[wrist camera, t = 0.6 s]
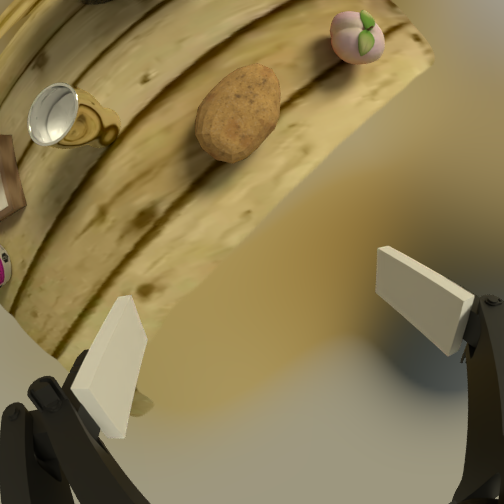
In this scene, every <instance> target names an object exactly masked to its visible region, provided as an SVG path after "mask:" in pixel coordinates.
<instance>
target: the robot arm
mask: <svg viewBox="0 0 504 504" xmlns="http://www.w3.org/2000/svg"><path fill="white" fill-rule="evenodd" d="M79 1H80V2H82V3H85V4H100V3H105V2H108V1H111V0H79ZM376 293H377V294H378V295H379V296H381V297H382V298H383V299H384V300H385V301H386V302H387V303H389V304H390V305H391V306H392V307H393V308H394V309H396V310H397V311H398V312H399V313H400V314H401V315H403V316H404V317H405V318H406V319H407V320H408V321H409V322H411V323H412V324H413V325H414V326H415V327H416V328H417V329H418V330H419V331H421V332H422V333H423V334H424V335H425V336H426V337H427V338H428V339H430V340H431V341H432V342H433V343H434V344H435V345H436V346H437V347H438V348H439V349H441V351H442V352H444V353H445V354H446V355H447V356H450V355H451V354H453V353H455V352H457V351H458V350H459V348H460V346H461V343H462V339H464V340H465V341H466V342H467V345H466V347H465V350H464V353H463V355H462V358H461V363H463V360H464V358H466V364H467V378H468V430H467V445H466V455H465V464H464V471H463V476H462V480H461V482H460V484H459V486H458V488H457V490H456V492H455V494H454V496H453V499H452V502H450V503H449V504H504V301H502V299H500V298H499V297H497V296H494V295H483V296H482V297H481V298H480V297H478V296H477V295H475V294H474V293H472V292H470V291H469V290H467V289H465V288H464V287H461V285H459V284H457V283H455V282H454V281H452V280H450V279H449V278H446V277H443V276H441V275H440V274H438V273H436V272H435V271H433V270H431V269H430V268H428V267H426V266H424V265H422V264H421V263H419V262H417V261H415V260H414V259H412V258H410V257H408V256H406V255H405V254H403V253H401V252H399V251H397V250H395V249H393V248H392V247H390V246H385V247H380V248H377V275H376ZM147 340H148V339H147V336H146V334H145V331H144V329H143V326H142V323H141V321H140V318H139V315H138V312H137V310H136V307H135V304H134V301H133V298H132V295H127V296H121V297H118V298H117V300H116V301H115V303H114V305H113V307H112V308H111V310H110V312H109V314H108V315H107V317H106V319H105V321H104V323H103V325H102V326H101V328H100V330H99V332H98V334H97V336H96V338H95V339H94V341H93V343H92V345H91V347H90V349H88V350H84V351H83V352H82V353H81V354H80V355H79V356H78V357H77V359H76V361H75V363H74V364H73V367H72V368H71V370H70V373H69V374H68V376H67V378H66V380H65V382H64V384H63V386H62V388H61V387H60V386H59V384H58V383H57V381H56V380H55V378H54V377H51V376H44V377H41V378H39V379H37V380H36V381H34V382H33V383H32V384H31V385H30V387H29V389H28V394H27V395H28V397H29V398H30V400H31V401H32V402H33V404H34V405H35V406H36V408H37V409H38V410H33V411H28V410H27V409H26V408H25V407H24V405H23V404H22V403H19V402H17V403H13V404H11V405H9V406H8V407H6V409H5V410H4V412H3V415H2V420H1V430H0V493H1V503H2V504H74V500H73V496H72V493H71V489H70V486H71V488H72V490H73V491H74V493H75V495H76V497H77V499H78V500H79V502H80V504H150V503H149V502H148V500H147V499H146V498H145V497H144V496H143V495H142V494H141V492H140V491H139V490H138V489H137V488H136V487H135V485H134V484H133V483H132V482H131V481H130V479H129V478H128V477H127V475H126V474H125V473H124V472H123V470H122V469H121V468H120V466H119V465H118V463H117V462H116V461H115V459H114V458H113V457H112V455H111V454H110V452H109V451H108V449H107V448H106V446H105V445H104V443H103V442H102V441H101V440H100V438H99V437H98V436H99V432H100V429H101V431H102V432H103V433H104V434H105V435H106V436H107V438H122V439H125V435H126V430H127V425H128V420H129V415H130V410H131V405H132V401H133V396H134V392H135V387H136V383H137V379H138V375H139V371H140V366H141V362H142V358H143V355H144V351H145V347H146V344H147ZM69 484H70V485H69ZM497 496H499V499H495V498H496V497H497Z"/></svg>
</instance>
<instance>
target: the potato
mask: <svg viewBox="0 0 504 504" xmlns="http://www.w3.org/2000/svg"><path fill="white" fill-rule="evenodd" d="M280 95H281V93H280V86H279V81H278V79H277V77H276V75H275V74H274V72H273V70H272V69H270V68H268V67H265V66H263V65H260V64H258V63H256V64H252V65H249V66H245V67H241V68H238V69H236V70H235V71H233V72H232V73H230V74H229V75H227V76H226V77H225V78H224V79H223V80H221V81H220V82H219V83H218V84H217V85H216V86H215V87H214V88H213V89H212V90H211V91H210V93H209V94H208V95H207V96H206V97H205V99H204V100H203V102H202V103H201V104H200V106H199V107H198V111H197V116H196V120H195V135H196V137H197V139H198V141H199V144H200V146H201V148H202V149H203V150H204V151H206V152H207V153H208V154H210V155H211V156H212V157H213V158H214V159H215V160H219V161H224V162H228V163H232V164H233V163H235V162H238V161H240V160H243V159H245V158H247V157H248V156H249V155H250V154H251V153H252V152H254V151H255V150H256V149H257V148H258V147H259V146H260V144H261V143H262V142H263V141H264V140H265V139H266V138H267V137H268V135H269V134H270V133H271V132H272V131H273V130H274V129H275V127H276V124H277V122H278V120H279V112H280Z"/></svg>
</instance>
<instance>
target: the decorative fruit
mask: <svg viewBox="0 0 504 504" xmlns="http://www.w3.org/2000/svg"><path fill="white" fill-rule="evenodd" d="M330 34H331V37H332V39H331V45H332V48H333V50H334V51H335V53H336V54H337V55H338V57H340V58H341V59H342V60H343V61H345V62H347V63H350V64H367V63H371V62H374V61H376V60H378V59H379V58H380V57H381V55H382V54H383V51H384V47H385V42H384V36H383V33H382V31H381V29H380V27H379V26H378V25H377V24H376V23H375V21H374V19H373V17H372V16H371V15H370V14H369V13H368V12H367V11H365V10H362V11H361V13H358V12H352V11H347V12H342V13H339V14H337V15H336V16H335V17H334V18H333V20H332V23H331V28H330Z"/></svg>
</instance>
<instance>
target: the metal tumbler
mask: <svg viewBox="0 0 504 504" xmlns="http://www.w3.org/2000/svg"><path fill="white" fill-rule="evenodd" d="M27 125H28V132H29V135H30V137H31V138H32V140H33V141H34V142H35V143H37V144H38V145H41V146H48V147H52V148H58V149H73V148H78V147H82V146H85V145H90V146H91V147H94V148H104V147H107V146H109V145H110V144H111V143H113V142H114V141H115V139H116V138H117V136H118V134H119V132H120V127H121V122H120V118H119V116H118V114H117V113H116V112H115V111H114V110H112V109H109V108H103V107H102V106H101V104H100V103H99V102H98V101H97V100H96V99H95V97H94V96H92V95H91V94H90V93H88V92H86V91H85V90H82V89H80V88H78V87H75V86H72V85H69V84H67V83H55V84H52V85H50V86H48V87H46V88H45V89H44V90H43V91H41V92H40V93H39V95H38V96H37V97H36V99H35V100H34V102H33V104H32V106H31V108H30V111H29V115H28V122H27Z"/></svg>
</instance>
